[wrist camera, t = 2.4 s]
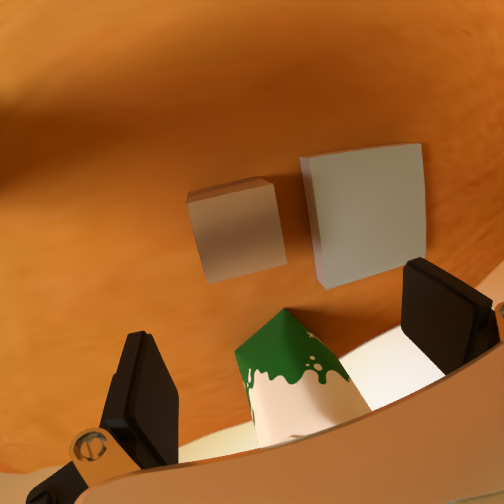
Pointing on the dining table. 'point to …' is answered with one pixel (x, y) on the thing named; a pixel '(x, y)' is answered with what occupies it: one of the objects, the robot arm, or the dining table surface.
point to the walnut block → (237, 228)
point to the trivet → (365, 210)
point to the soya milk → (294, 382)
